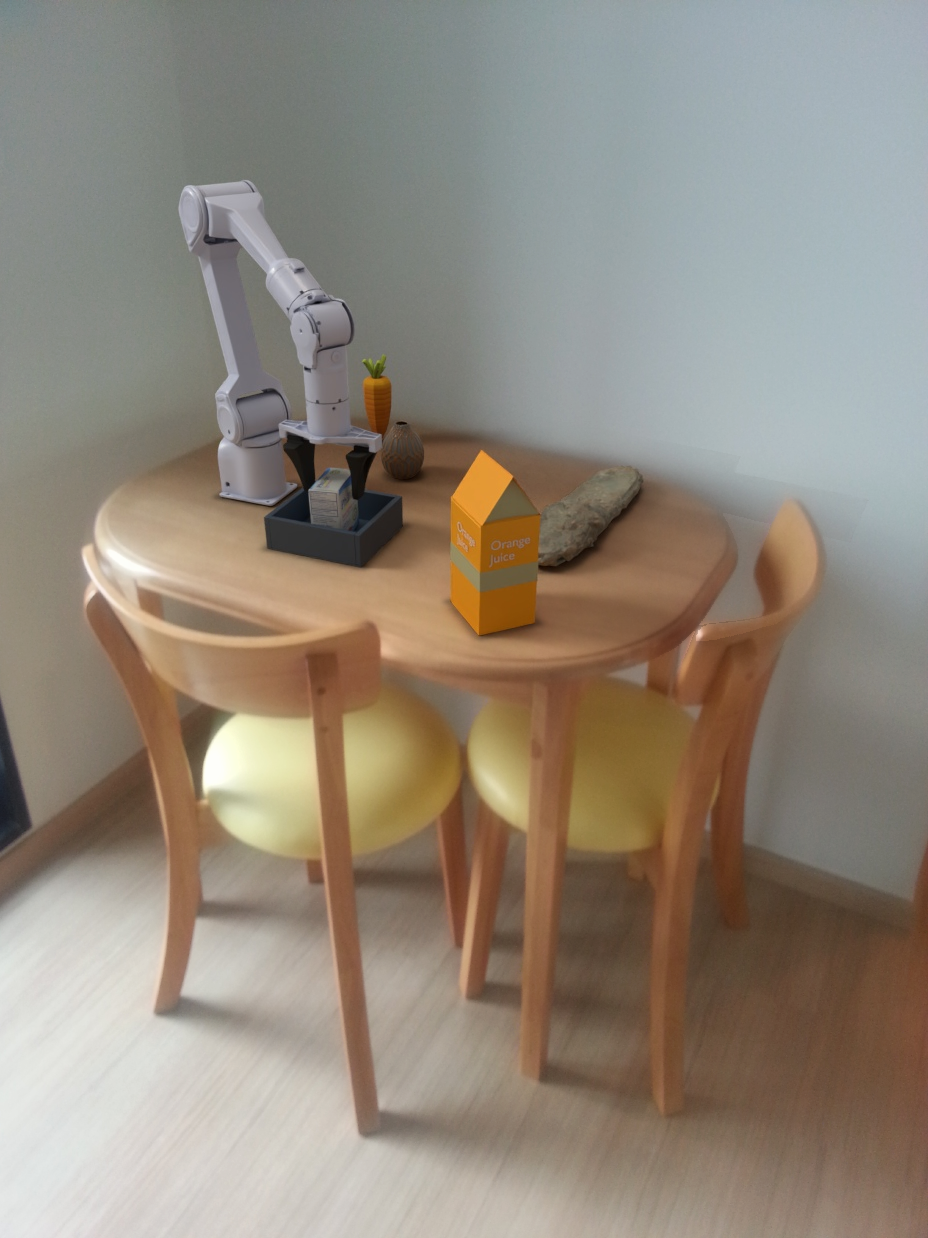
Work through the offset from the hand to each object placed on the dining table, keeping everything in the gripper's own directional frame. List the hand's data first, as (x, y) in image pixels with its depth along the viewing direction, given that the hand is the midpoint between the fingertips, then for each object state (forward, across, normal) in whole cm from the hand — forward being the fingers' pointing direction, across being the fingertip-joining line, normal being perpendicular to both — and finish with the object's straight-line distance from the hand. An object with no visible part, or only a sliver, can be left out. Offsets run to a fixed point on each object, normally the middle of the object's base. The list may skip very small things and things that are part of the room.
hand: (333, 492), depth 133 cm
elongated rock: (+7, +32, +18) cm, 37 cm away
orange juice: (+7, +27, -11) cm, 30 cm away
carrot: (+7, -11, +36) cm, 38 cm away
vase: (+7, -1, +24) cm, 25 cm away
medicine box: (+7, 0, 0) cm, 7 cm away
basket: (+7, 0, 0) cm, 7 cm away
